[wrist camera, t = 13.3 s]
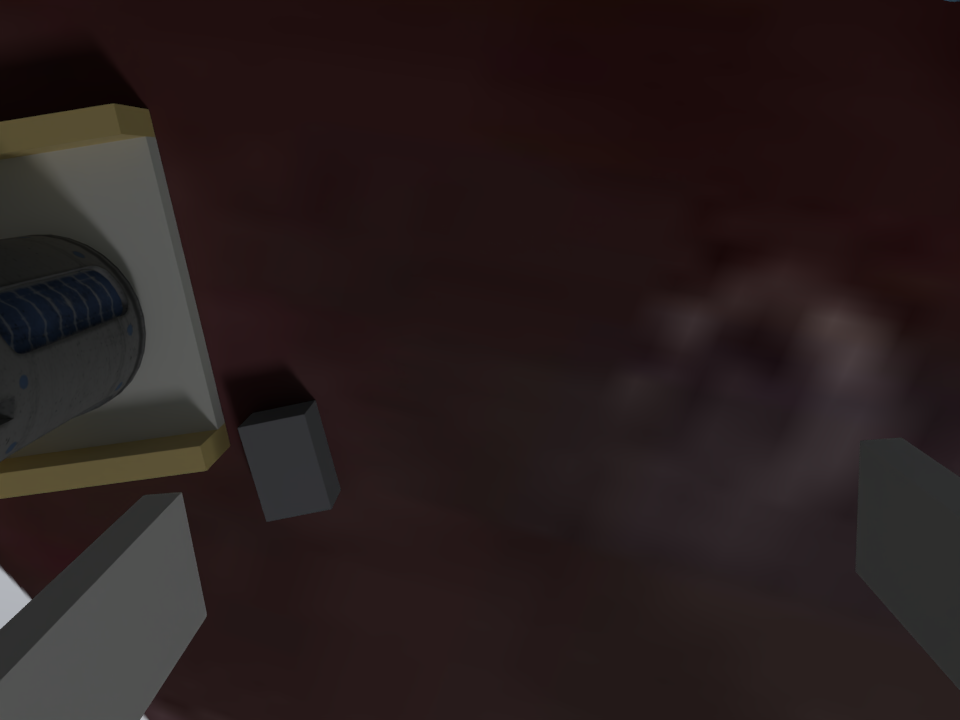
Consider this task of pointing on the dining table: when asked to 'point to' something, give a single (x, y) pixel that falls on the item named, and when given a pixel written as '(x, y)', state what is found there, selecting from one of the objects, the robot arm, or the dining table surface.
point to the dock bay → (152, 274)
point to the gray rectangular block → (290, 460)
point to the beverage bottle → (61, 335)
